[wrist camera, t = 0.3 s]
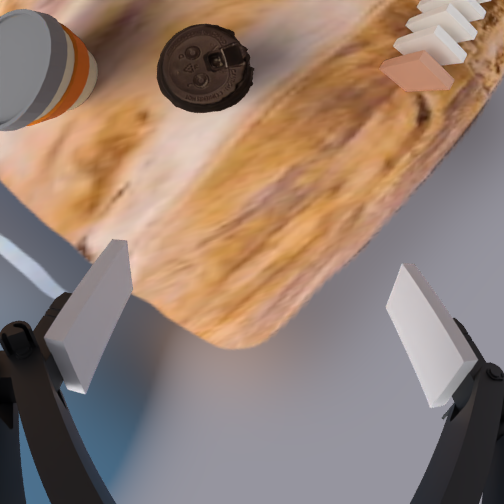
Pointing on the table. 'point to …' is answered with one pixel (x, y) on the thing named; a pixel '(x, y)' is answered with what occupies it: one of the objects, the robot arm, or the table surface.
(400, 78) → the domino
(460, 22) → the domino
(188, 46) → the coffee cup
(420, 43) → the domino
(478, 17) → the domino
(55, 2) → the table surface
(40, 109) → the reusable coffee cup
